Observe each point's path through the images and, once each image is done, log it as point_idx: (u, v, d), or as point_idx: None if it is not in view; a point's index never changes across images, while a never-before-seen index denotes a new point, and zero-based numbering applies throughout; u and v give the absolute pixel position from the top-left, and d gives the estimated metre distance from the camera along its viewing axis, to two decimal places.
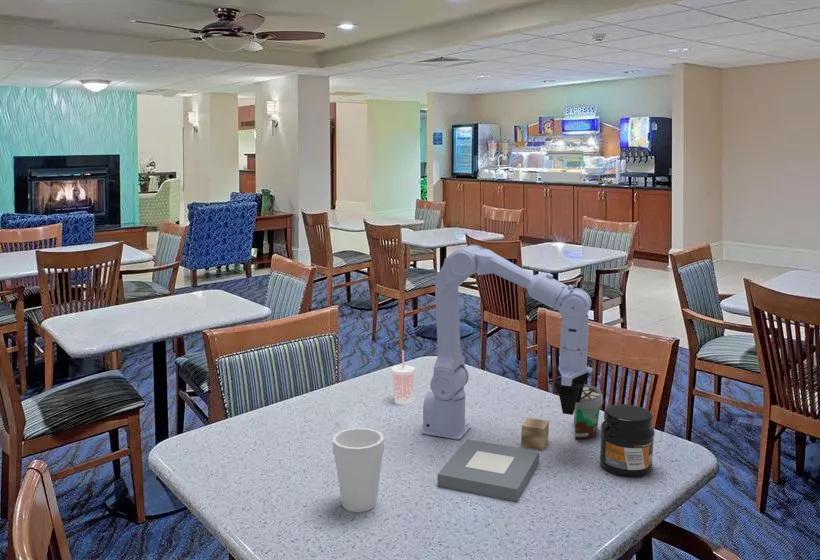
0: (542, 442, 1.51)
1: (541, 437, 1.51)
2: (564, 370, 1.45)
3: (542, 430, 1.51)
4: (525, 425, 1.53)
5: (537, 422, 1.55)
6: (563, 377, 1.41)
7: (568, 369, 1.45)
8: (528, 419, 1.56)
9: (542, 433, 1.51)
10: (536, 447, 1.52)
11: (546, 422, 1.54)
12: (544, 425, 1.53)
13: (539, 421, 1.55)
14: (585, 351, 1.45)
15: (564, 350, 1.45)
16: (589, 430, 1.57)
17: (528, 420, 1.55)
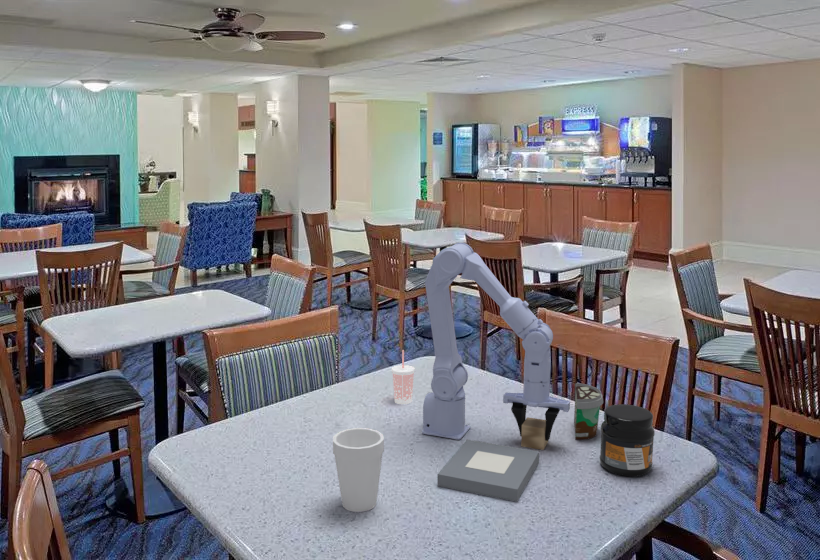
0: (542, 442, 1.51)
1: (541, 437, 1.51)
2: None
3: (542, 430, 1.51)
4: (525, 424, 1.53)
5: (538, 421, 1.55)
6: None
7: None
8: (528, 419, 1.56)
9: (542, 433, 1.51)
10: (536, 447, 1.52)
11: None
12: (544, 425, 1.53)
13: (539, 421, 1.55)
14: (529, 383, 1.50)
15: None
16: (589, 430, 1.57)
17: (528, 420, 1.55)
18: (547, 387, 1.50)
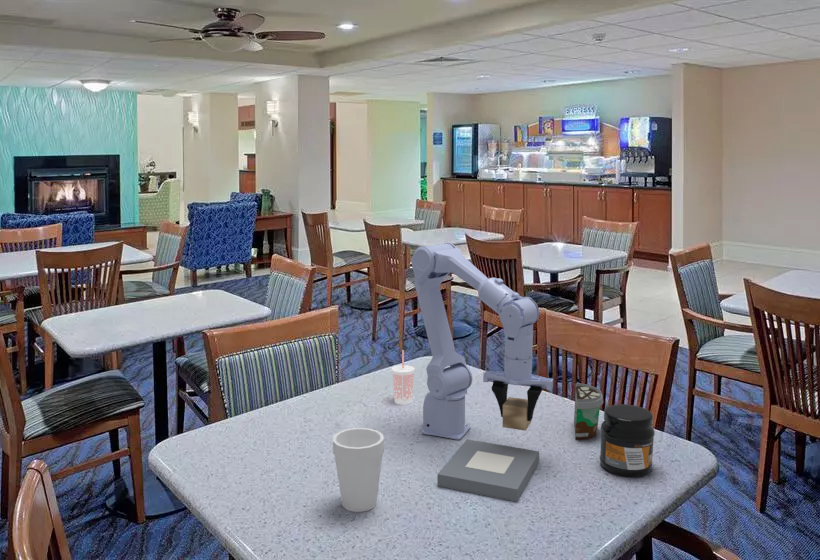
0: (524, 422, 1.44)
1: (523, 417, 1.44)
2: None
3: (524, 409, 1.43)
4: (507, 404, 1.45)
5: (520, 401, 1.47)
6: None
7: None
8: (510, 398, 1.49)
9: (524, 412, 1.43)
10: (518, 427, 1.45)
11: None
12: (526, 404, 1.45)
13: (521, 400, 1.47)
14: (510, 360, 1.42)
15: None
16: (589, 430, 1.57)
17: (510, 400, 1.48)
18: (529, 364, 1.43)
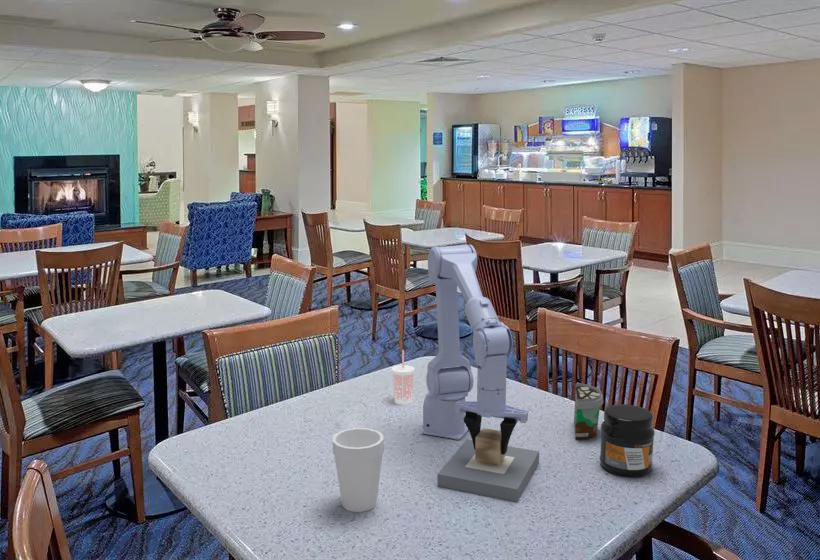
0: (498, 455, 1.37)
1: (497, 450, 1.37)
2: None
3: (498, 442, 1.36)
4: (480, 436, 1.38)
5: (494, 433, 1.40)
6: None
7: None
8: (484, 430, 1.42)
9: (498, 446, 1.36)
10: (491, 461, 1.38)
11: None
12: (500, 437, 1.38)
13: (495, 432, 1.40)
14: (482, 391, 1.35)
15: None
16: (589, 430, 1.57)
17: (484, 431, 1.41)
18: (502, 395, 1.35)
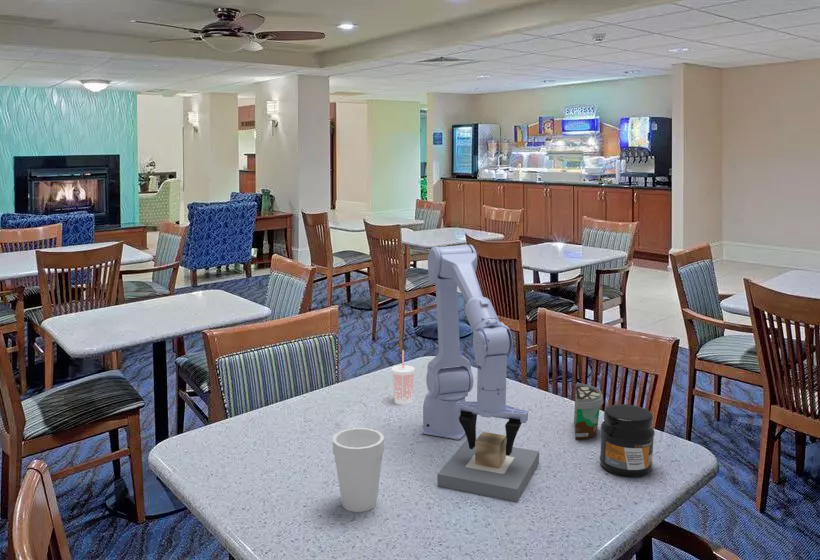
0: (497, 459, 1.37)
1: (497, 454, 1.37)
2: None
3: (497, 446, 1.36)
4: (479, 440, 1.38)
5: (493, 436, 1.40)
6: None
7: None
8: (483, 433, 1.42)
9: (497, 449, 1.37)
10: (491, 465, 1.38)
11: (503, 437, 1.40)
12: (500, 440, 1.38)
13: (495, 436, 1.40)
14: (482, 391, 1.35)
15: None
16: (589, 430, 1.57)
17: (483, 435, 1.41)
18: (502, 395, 1.35)
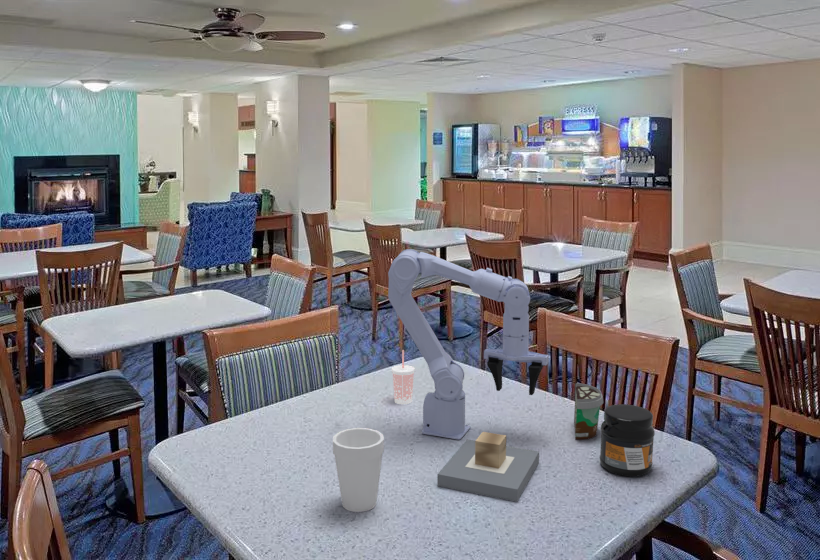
0: (497, 459, 1.37)
1: (497, 454, 1.37)
2: None
3: (497, 446, 1.36)
4: (479, 440, 1.38)
5: (493, 436, 1.40)
6: None
7: None
8: (483, 433, 1.42)
9: (497, 449, 1.37)
10: (491, 465, 1.38)
11: (503, 437, 1.40)
12: (500, 440, 1.38)
13: (495, 436, 1.40)
14: (507, 338, 1.54)
15: None
16: (589, 430, 1.57)
17: (483, 435, 1.41)
18: (526, 341, 1.54)
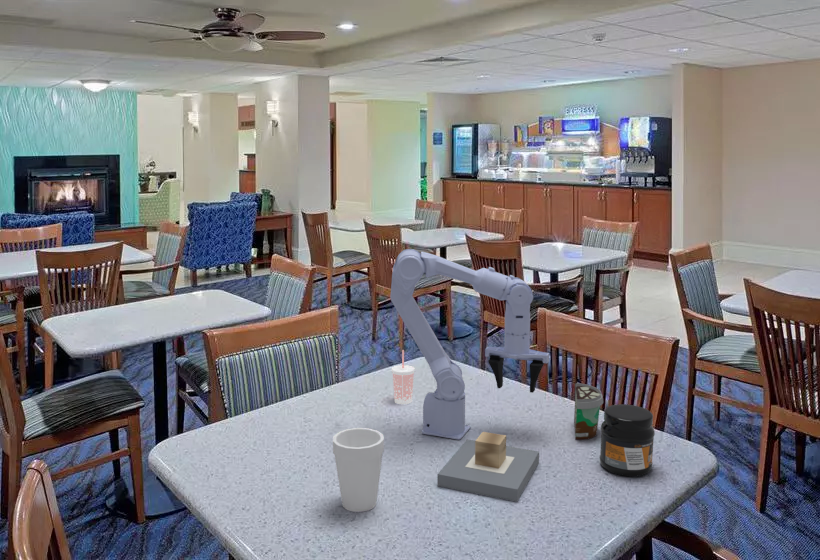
0: (497, 459, 1.37)
1: (497, 454, 1.37)
2: None
3: (497, 446, 1.36)
4: (479, 440, 1.38)
5: (493, 436, 1.40)
6: None
7: None
8: (483, 433, 1.42)
9: (497, 449, 1.37)
10: (491, 465, 1.38)
11: (503, 437, 1.40)
12: (500, 440, 1.38)
13: (495, 436, 1.40)
14: (509, 336, 1.55)
15: None
16: (589, 430, 1.57)
17: (483, 435, 1.41)
18: (527, 339, 1.56)
